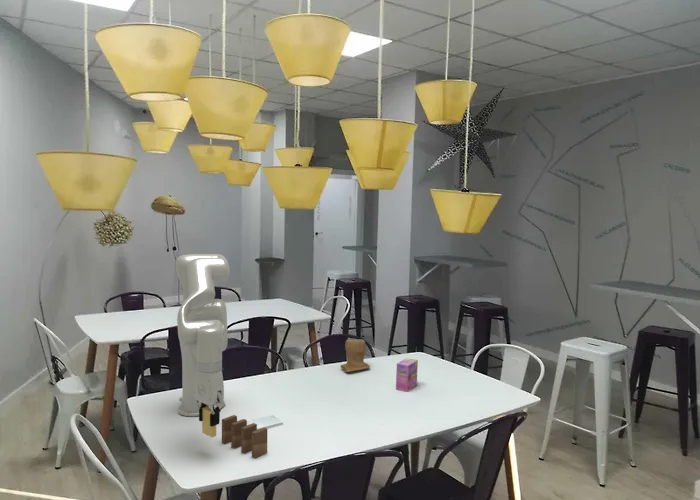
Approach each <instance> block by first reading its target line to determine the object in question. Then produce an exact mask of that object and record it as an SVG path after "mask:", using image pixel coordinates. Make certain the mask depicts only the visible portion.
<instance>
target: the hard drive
mask: <svg viewBox="0 0 700 500" xmlns="http://www.w3.org/2000/svg"><path fill="white" fill-rule="evenodd" d="M252 423H255V424H257V430H258V429H261V428H263V427H265V428H267V430H268V429H272V428H276V427H279V426H283V425H284V421H282V420H281V419H279V418H278V417H276V416H275V415H273V414H271V415H267V416H263V417H259V418H255V419H250V420H247V425H250V424H252Z"/></svg>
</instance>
